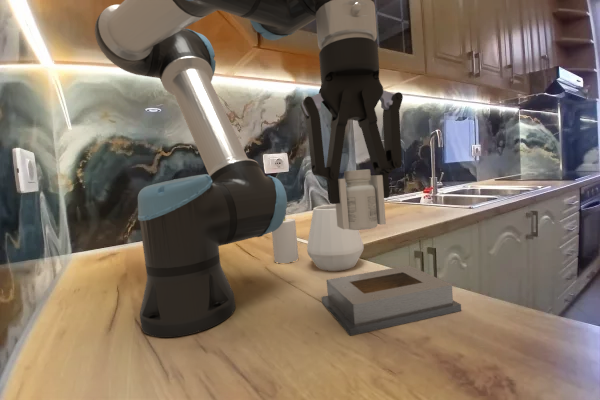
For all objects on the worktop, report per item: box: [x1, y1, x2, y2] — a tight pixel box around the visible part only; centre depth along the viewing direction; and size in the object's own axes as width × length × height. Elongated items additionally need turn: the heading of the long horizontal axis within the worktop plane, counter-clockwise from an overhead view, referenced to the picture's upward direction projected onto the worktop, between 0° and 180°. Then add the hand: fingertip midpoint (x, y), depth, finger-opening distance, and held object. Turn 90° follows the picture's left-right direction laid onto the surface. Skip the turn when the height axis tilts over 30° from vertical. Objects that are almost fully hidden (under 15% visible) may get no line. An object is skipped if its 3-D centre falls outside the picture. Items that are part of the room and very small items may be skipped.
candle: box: [271, 217, 299, 264], centre depth 82 cm, size 6×6×15 cm
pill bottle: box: [343, 169, 379, 231], centre depth 43 cm, size 4×4×8 cm
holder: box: [321, 264, 462, 337], centre depth 51 cm, size 18×12×4 cm, turn 105°
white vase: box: [306, 204, 365, 272], centre depth 75 cm, size 13×13×14 cm
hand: (361, 224), depth 43 cm, fingers closed on pill bottle, 4 cm apart
